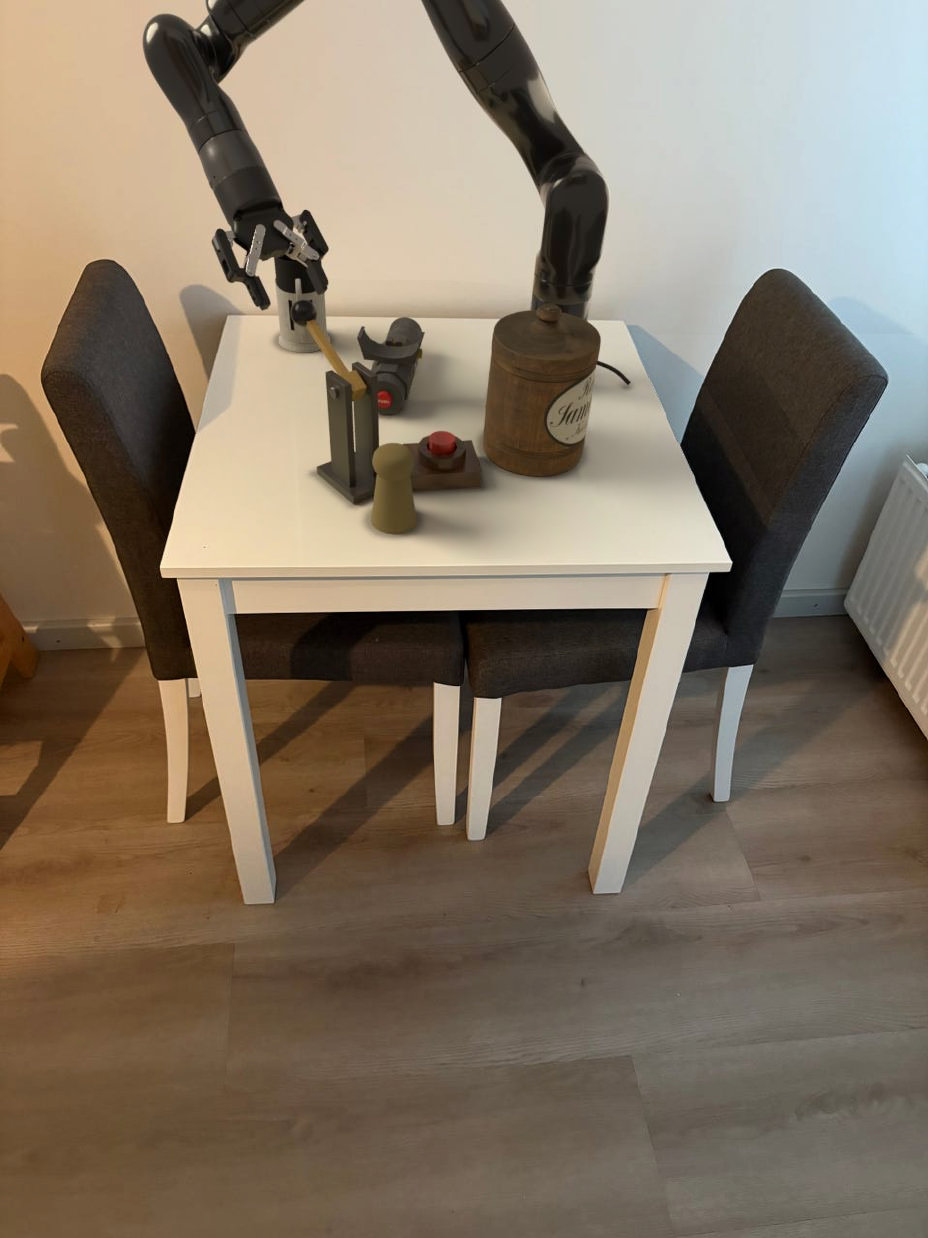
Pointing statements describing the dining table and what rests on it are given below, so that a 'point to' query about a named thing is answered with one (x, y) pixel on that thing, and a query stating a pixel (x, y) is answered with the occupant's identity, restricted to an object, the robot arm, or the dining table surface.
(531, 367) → the wooden container
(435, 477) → the lamp base
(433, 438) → the button
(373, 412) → the switch bracket
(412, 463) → the tan wooden game pawn
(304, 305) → the lever
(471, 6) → the robot arm
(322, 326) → the glass holder
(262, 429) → the dining table surface
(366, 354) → the laser sight
